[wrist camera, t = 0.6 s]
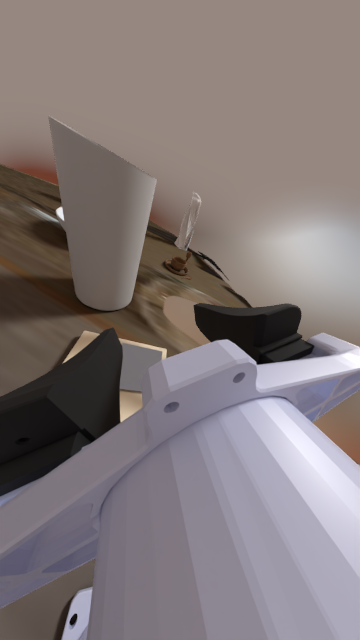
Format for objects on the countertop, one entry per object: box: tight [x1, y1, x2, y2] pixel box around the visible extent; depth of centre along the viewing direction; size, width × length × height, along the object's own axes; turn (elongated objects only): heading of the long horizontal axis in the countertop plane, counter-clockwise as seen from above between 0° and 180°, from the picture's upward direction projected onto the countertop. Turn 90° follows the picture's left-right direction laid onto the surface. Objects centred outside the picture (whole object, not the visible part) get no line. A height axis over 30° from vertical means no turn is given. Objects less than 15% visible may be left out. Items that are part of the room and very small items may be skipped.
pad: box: [120, 343, 162, 392], centre depth 24 cm, size 8×8×1 cm
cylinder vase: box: [48, 116, 157, 311], centre depth 26 cm, size 12×12×25 cm
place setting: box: [165, 252, 192, 279], centre depth 64 cm, size 18×20×6 cm
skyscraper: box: [174, 192, 201, 251], centre depth 81 cm, size 8×8×28 cm
